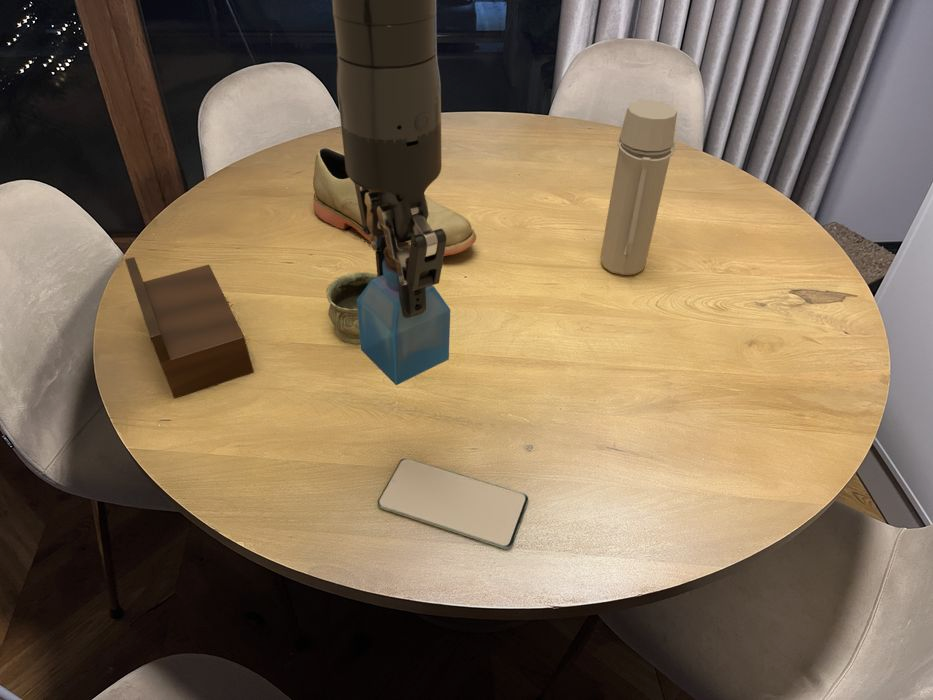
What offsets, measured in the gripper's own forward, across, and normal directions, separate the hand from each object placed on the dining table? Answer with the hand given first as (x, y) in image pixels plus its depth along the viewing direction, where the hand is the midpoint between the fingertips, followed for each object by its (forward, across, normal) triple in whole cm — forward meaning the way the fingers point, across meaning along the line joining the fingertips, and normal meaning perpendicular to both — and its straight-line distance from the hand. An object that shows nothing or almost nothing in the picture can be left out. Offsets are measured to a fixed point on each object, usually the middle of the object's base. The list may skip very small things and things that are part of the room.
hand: (401, 297), depth 62 cm
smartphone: (+23, +8, +2) cm, 24 cm away
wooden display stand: (+23, -32, -17) cm, 43 cm away
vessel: (+23, -25, +4) cm, 34 cm away
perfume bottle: (+7, 0, 0) cm, 7 cm away
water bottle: (+23, -20, +46) cm, 55 cm away
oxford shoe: (+23, -46, +17) cm, 54 cm away
